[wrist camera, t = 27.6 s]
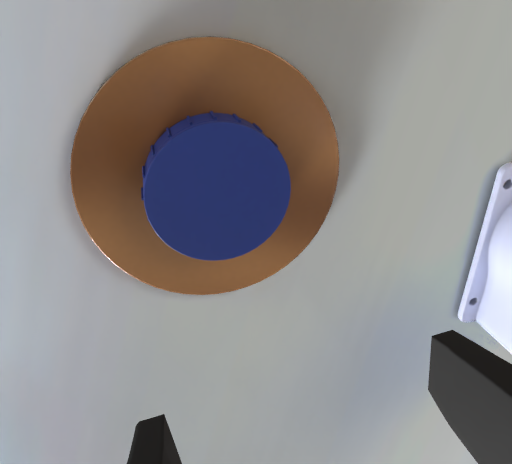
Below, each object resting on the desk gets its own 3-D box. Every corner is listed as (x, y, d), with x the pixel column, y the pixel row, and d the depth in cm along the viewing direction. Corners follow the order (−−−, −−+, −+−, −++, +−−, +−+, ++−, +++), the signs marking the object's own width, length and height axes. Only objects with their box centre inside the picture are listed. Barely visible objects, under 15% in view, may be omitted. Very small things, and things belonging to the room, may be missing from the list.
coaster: (323, 275, 22) (327, 280, 22) (93, 302, 20) (92, 309, 19) (348, 37, 17) (353, 38, 17) (46, 34, 15) (44, 35, 14)
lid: (271, 97, 17) (283, 105, 16) (287, 226, 20) (299, 242, 18) (122, 128, 16) (121, 139, 15) (161, 257, 19) (164, 277, 18)
